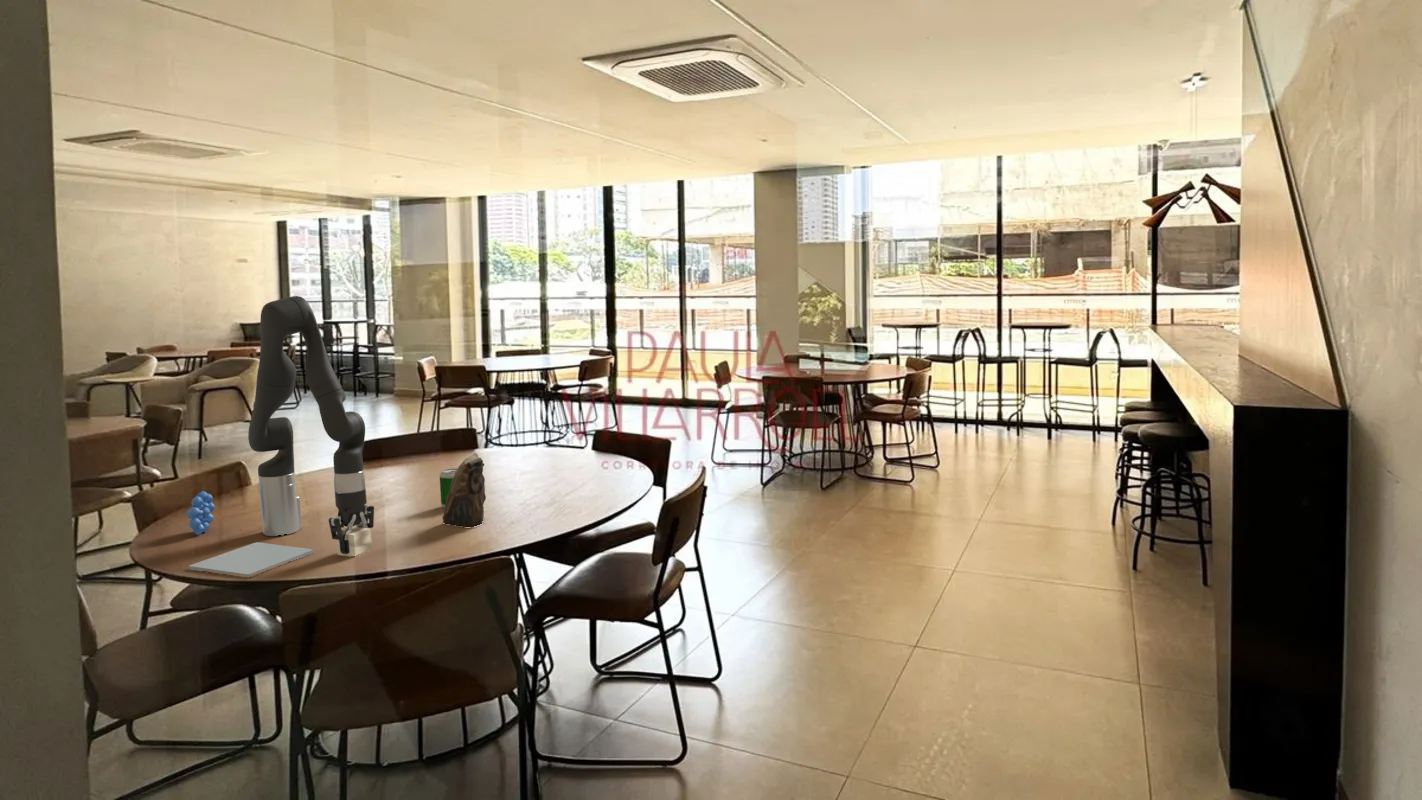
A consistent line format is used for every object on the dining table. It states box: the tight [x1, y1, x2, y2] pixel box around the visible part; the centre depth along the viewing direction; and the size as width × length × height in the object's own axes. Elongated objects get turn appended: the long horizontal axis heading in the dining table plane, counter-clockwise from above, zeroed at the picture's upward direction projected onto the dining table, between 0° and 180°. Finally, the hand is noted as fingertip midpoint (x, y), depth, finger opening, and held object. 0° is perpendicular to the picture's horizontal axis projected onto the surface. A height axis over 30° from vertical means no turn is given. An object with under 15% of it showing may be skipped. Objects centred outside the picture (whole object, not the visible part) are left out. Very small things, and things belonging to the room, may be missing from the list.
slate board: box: [188, 541, 315, 576], centre depth 213 cm, size 20×20×1 cm
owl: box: [442, 452, 487, 528], centre depth 244 cm, size 13×13×20 cm
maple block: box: [335, 526, 373, 557], centre depth 219 cm, size 6×6×6 cm
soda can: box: [439, 467, 458, 509], centre depth 262 cm, size 8×8×12 cm
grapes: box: [185, 490, 216, 536], centre depth 237 cm, size 12×7×12 cm, turn 5°
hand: (354, 549), depth 219 cm, fingers closed on maple block, 6 cm apart
